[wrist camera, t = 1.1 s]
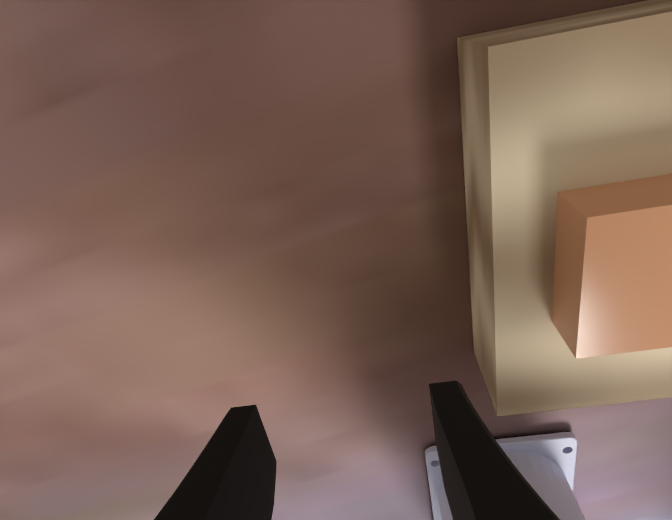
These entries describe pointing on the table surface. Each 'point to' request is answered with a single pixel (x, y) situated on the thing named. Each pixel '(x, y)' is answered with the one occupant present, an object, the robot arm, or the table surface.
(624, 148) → the beige square tray
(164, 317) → the table surface
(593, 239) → the tile
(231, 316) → the table surface
